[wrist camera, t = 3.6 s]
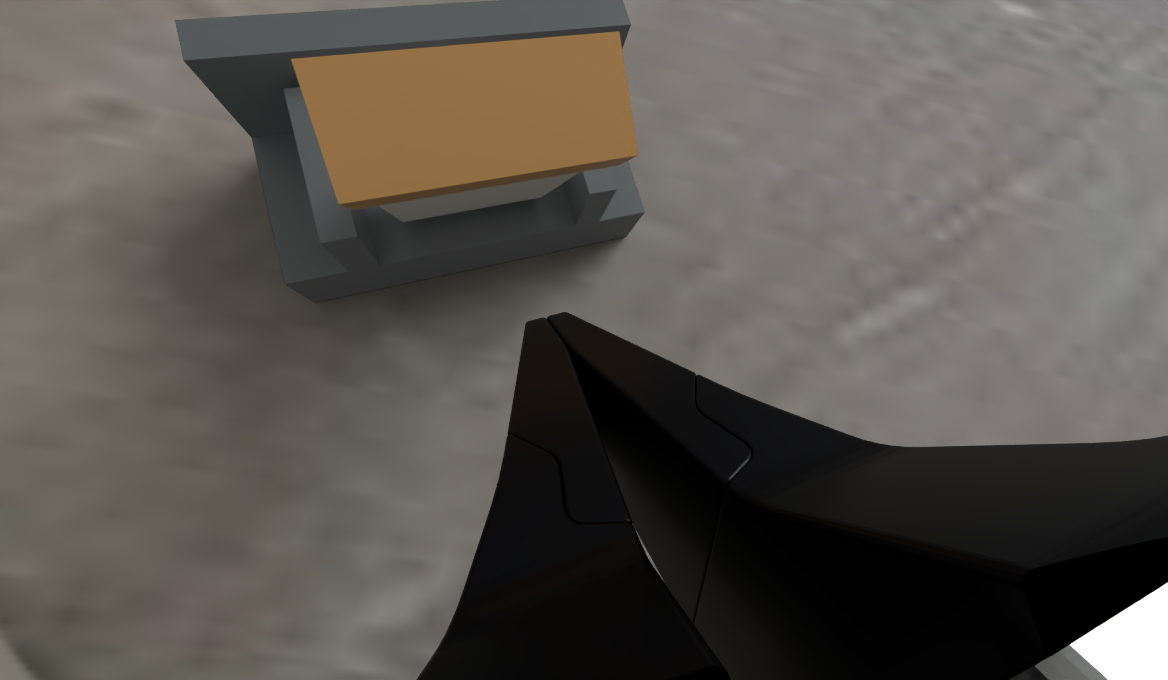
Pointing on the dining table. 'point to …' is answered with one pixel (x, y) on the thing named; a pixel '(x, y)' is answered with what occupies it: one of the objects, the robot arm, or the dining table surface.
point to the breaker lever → (468, 121)
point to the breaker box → (372, 235)
